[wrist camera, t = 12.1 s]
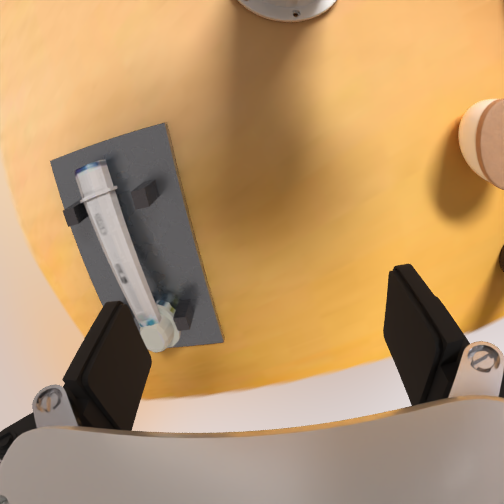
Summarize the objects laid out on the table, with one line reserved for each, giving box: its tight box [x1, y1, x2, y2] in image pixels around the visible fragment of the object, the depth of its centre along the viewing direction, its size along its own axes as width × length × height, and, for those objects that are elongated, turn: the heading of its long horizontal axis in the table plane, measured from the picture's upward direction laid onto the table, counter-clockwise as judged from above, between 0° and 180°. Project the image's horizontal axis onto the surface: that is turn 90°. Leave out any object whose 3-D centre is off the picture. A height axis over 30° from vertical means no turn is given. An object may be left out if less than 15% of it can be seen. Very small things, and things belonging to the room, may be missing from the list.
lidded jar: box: [458, 99, 504, 190], centre depth 28 cm, size 11×11×9 cm
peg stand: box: [50, 122, 224, 348], centre depth 38 cm, size 30×16×5 cm, turn 10°
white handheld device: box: [74, 160, 180, 352], centre depth 37 cm, size 5×7×25 cm
